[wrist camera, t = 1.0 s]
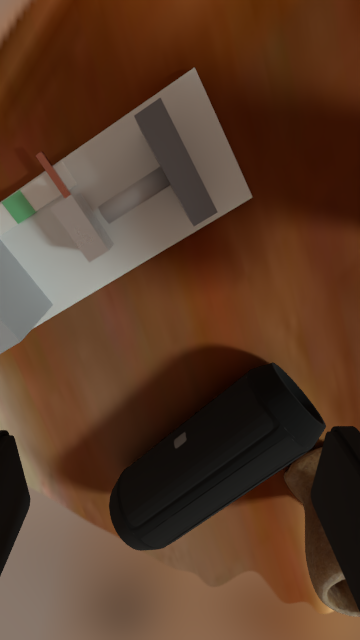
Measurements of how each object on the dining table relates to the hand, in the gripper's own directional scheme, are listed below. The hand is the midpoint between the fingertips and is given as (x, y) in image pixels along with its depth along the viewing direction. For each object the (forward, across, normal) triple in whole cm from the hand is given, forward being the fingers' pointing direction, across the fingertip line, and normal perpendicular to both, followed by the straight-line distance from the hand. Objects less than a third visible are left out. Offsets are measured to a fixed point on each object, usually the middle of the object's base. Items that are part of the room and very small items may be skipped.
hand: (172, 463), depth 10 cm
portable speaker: (+25, -4, +22) cm, 33 cm away
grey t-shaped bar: (+23, +2, -7) cm, 24 cm away
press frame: (+24, +6, -4) cm, 26 cm away
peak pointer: (+22, +8, -6) cm, 25 cm away
